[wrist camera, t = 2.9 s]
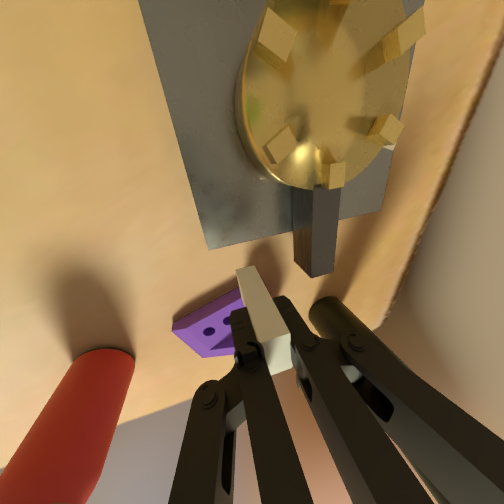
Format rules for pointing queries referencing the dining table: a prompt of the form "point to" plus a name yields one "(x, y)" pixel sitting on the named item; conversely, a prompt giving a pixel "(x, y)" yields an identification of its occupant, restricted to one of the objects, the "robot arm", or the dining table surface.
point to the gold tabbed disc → (323, 103)
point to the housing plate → (232, 121)
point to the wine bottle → (343, 320)
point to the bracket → (210, 326)
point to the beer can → (70, 433)
